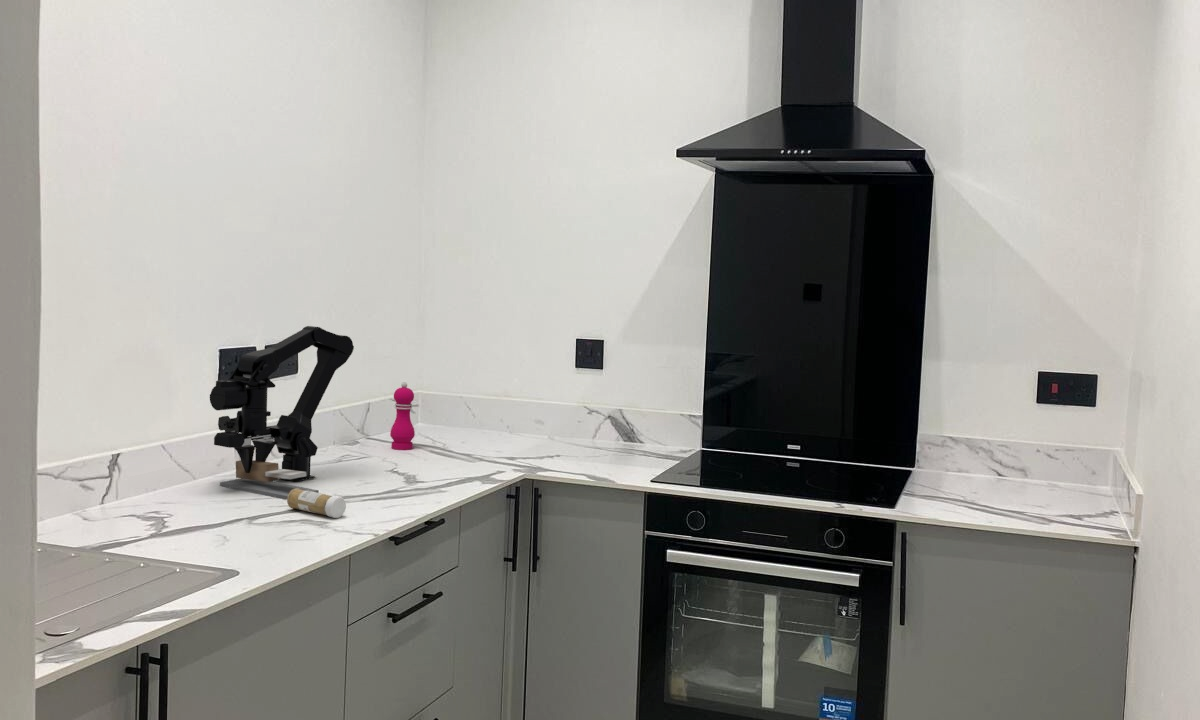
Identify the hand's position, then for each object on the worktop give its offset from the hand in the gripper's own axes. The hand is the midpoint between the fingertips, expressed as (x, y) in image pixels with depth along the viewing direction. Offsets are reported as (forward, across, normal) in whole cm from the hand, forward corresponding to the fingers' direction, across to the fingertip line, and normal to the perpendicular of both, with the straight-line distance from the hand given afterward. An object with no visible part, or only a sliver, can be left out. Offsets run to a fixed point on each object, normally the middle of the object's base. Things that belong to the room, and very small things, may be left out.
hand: (252, 471), depth 236 cm
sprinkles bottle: (+1, +9, +23) cm, 25 cm away
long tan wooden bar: (+1, 0, +6) cm, 6 cm away
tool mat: (+4, 0, +6) cm, 7 cm away
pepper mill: (+4, -65, -9) cm, 66 cm away
